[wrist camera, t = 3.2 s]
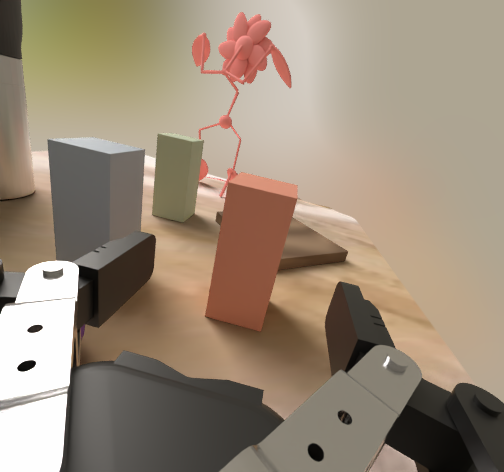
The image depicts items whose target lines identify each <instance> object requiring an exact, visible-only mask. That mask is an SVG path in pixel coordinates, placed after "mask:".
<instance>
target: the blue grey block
mask: <svg viewBox="0 0 504 472" xmlns="http://www.w3.org/2000/svg"><path fill="white" fill-rule="evenodd" d="M48 153H49V166H50V179H51V193H52V206H53V219H54V233H55V246H56V259H57V261H66V262H71V263H72V262H73V261H75V260H77V259H79V258H81V257H82V256H84V255H86V254H88V253H90V252H92V251H94V250H95V249H97V248H99V247H101V246H102V245H104V244H106V243H108V242H110V241H113V240H117V239H121V238H125V237H126V236H128V235H130V234H132V233H133V232H135V231H140V232H141V214H142V195H143V176H144V157H145V149H141V148H136V147H132V146H127V145H124V144H119V143H114V142H111V141H107V140H102V139H98V138H94V137H90V138H66V139H65V138H62V139H48Z"/></svg>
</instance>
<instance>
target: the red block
mask: <svg viewBox="0 0 504 472" xmlns="http://www.w3.org/2000/svg"><path fill="white" fill-rule="evenodd" d="M296 201H297V185H294V184H289V183H285V182H281V181H277V180H272V179H268V178H264V177H259V176H255V175H251V174H246V173H243V172H241V173H240V174H239V175H237V176H236V177H235V178H233V179H232V180H231V181H229V182H228V187H227V193H226V198H225V204H224V210H223V216H222V222H221V228H220V233H219V239H218V245H217V251H216V257H215V262H214V268H213V274H212V280H211V286H210V291H209V297H208V303H207V309H206V315H205V317H209V318H212V319H216V320H220V321H223V322H227V323H230V324H234V325H238V326H241V327H245V328H249V329H252V330H256V331H260V332H261V329H262V326H263V322H264V318H265V315H266V311H267V307H268V304H269V300H270V296H271V293H272V289H273V285H274V282H275V278H276V274H277V271H278V267H279V264H280V260H281V256H282V253H283V249H284V245H285V242H286V238H287V234H288V231H289V227H290V223H291V220H292V216H293V212H294V209H295V205H296Z"/></svg>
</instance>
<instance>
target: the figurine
mask: <svg viewBox="0 0 504 472" xmlns="http://www.w3.org/2000/svg"><path fill="white" fill-rule="evenodd" d="M270 28H271V23H270V22H269V21H267V20H262V21H261V16H260V14H258V15H255V16H254V17H252V18H251V19H250V20H249V21H248V22H247V20H246V17H245V14H244V13H243V12H240V13H239V14H238V16H237V18H236V19H235V22H234V26H233V28H232V27H230V28H229V29H228V32H227V41H225V42H223V43H221V44H220V45H219V52H220V54H221V55H222V56H223V57H224V58H225V59H226V60H225V61H224V63H223V69H222V71H215V70H211V71H210V70H203V68H204V62H206V60H207V59H208V57H209V54H210V43H209V40H208V39H207V37H206V33H203V34H202V35H199V36H198V37H197V38H196V39H195V40H194V43H193V46H192V55H193V58H194V61H195V64H196V66H200V65H201V73H209V74H210V73H211V74H223V75H225V76H226V77H227V79H228V80H229V82H230V83H231V85H232V86H233V87H234V89H235V90H236V94H235V97H234V99H233V102H232V104H231V107H230V109H229V112H228V114H227V115H223V116H222V117H220V119H219V123H218V124H214V125H211V126H208V127H204V128H201V129H199V139H200V140H201V131H200V130H203V129H207V128H210V127H213V126H217V125H220V126H221V127H222V128H225V129H227V128H229V127H231V128H232V129H233V131H234V132H235V134H236V135H237V136H238V138H239V139H240V140H239V145H238V149H237V153H236V158H235V162H234V166H233V169H232V168H229V169H228V170H227V173H228V179H227V181H226V183H225V185H224V187H223V189H222V191H221V194H220V196H221V197H222V195H223V193H224V191H225V189H226V187H227V185H228V182H229V180H230V181H231V180H232V179H233V178H235V177H236V176H237V175H238V174H237V173H236V172H235V170H234V169H235V164H236V160H237V156H238V151H239V148H240V143H241V138H240V137H239V135H238V134H237V132H236V131H235V129H234V128H233V126H232V125H231V124H232V120H231V118H230V117H229V114H230V112H231V109H232V107H233V105H234V103H235V100H236V98H237V96H238V94H239V92H238V89H237V87H236V86H235V85H234V83H233V82H235V81H238V82H240V83H241V84H244V82H247V83H252V82H253V81H254V79H255V77H256V74H257V70H260V71H263V70H265V69H266V66H267V58H266V57H267V56H268V55H269V54H270V53H271V54H272V58H273V62H274V65H275V67H276V70H277V71H278V73H279V75H280V77H281V78H282V79H283V81H284V82H285V83H286V85H287V86H288V87H289V88H291V75H290V71H289V68H288V65H287V63H286V61H285V59H284V57H283V55H282V54H281V52H280V51H279V50H278V49H277V48H276V47H275V46H274V44H273V43H272V42H271V40H269V39H268V38H267V37H265V36H266V35H267V33H268V32H269V30H270ZM243 74H244V77H245V79H244V80H243V81H242V80H241V79H239V78H241V76H242V75H243ZM228 75H229V76H230V78H229V77H228ZM207 173H208V166H207V164H206V162H205V161H204V160H203V159H201V166H200V174H199V181H200V180H201V179H203V178H204V177H205V176H206V175H207ZM207 178H210V177H207ZM213 179H215V178H213ZM216 179H217V178H216ZM217 180H221V179H217ZM222 181H224V180H222Z"/></svg>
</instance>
